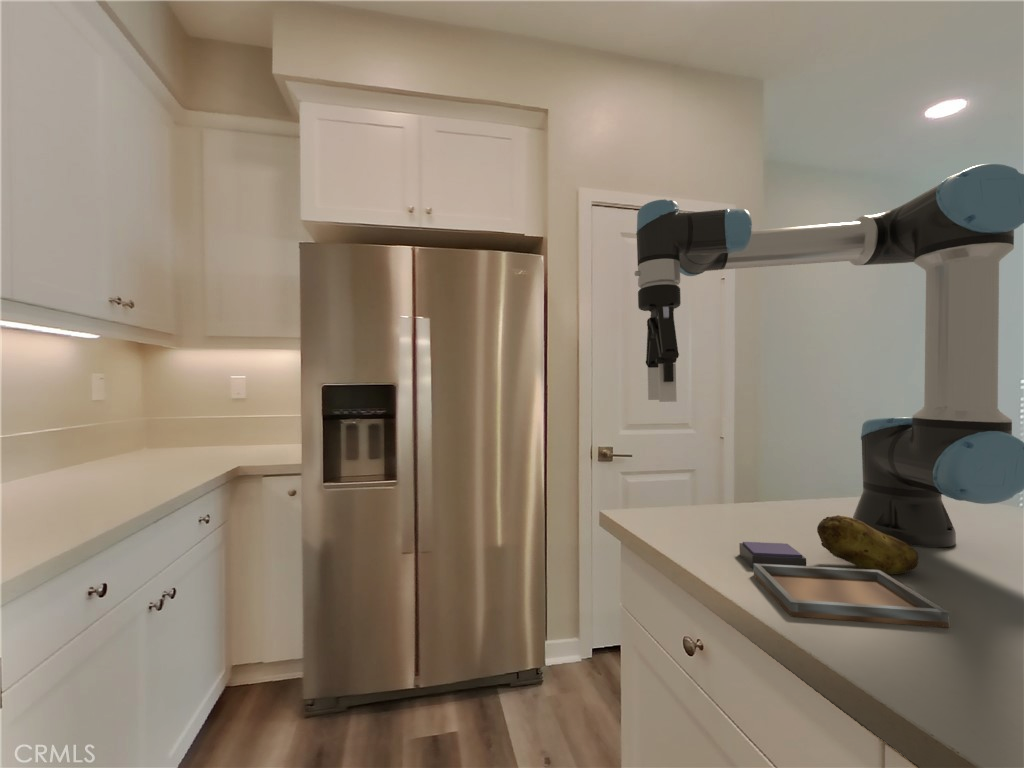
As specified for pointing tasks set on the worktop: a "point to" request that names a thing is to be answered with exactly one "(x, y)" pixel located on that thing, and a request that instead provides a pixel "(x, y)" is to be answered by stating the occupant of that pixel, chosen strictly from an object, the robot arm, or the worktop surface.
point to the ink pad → (771, 554)
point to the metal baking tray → (847, 595)
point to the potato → (866, 546)
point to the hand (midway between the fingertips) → (661, 400)
